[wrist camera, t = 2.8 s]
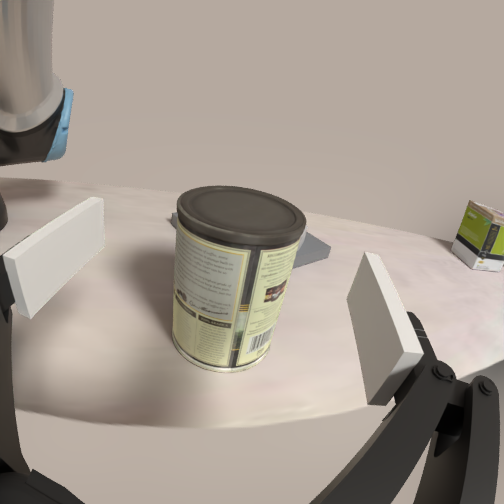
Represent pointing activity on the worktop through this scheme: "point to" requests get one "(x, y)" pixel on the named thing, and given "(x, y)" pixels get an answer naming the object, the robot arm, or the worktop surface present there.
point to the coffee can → (231, 273)
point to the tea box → (481, 238)
